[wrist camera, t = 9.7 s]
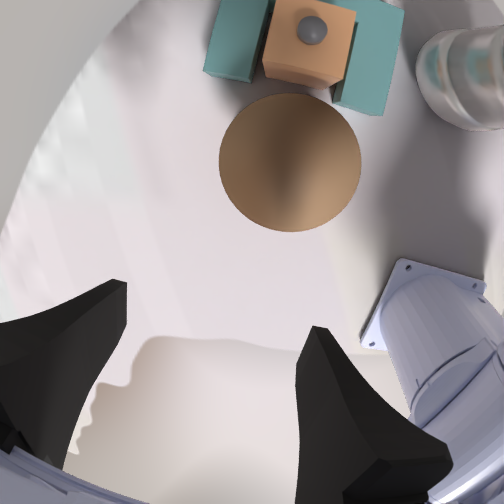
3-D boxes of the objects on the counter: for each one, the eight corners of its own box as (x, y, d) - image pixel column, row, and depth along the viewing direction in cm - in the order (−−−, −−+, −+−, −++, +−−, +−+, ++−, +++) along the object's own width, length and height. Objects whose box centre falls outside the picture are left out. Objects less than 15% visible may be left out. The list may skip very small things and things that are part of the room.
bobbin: (348, 116, 18) (376, 116, 13) (322, 211, 20) (338, 245, 15) (246, 90, 18) (235, 79, 12) (224, 188, 20) (207, 214, 15)
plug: (333, 40, 16) (361, 6, 10) (322, 90, 17) (346, 76, 11) (277, 26, 16) (278, -15, 10) (265, 76, 17) (261, 56, 11)
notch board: (390, 20, 15) (404, 10, 12) (369, 115, 18) (382, 115, 15) (236, -19, 14) (232, -35, 12) (211, 76, 17) (202, 70, 15)
